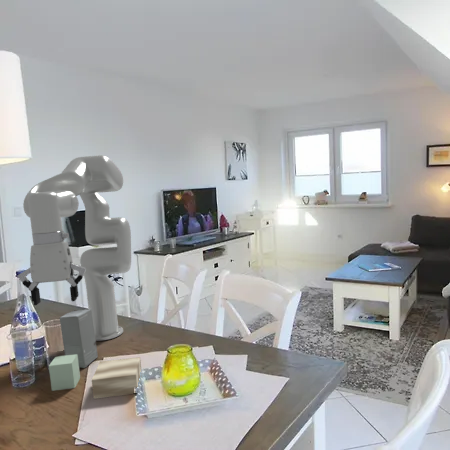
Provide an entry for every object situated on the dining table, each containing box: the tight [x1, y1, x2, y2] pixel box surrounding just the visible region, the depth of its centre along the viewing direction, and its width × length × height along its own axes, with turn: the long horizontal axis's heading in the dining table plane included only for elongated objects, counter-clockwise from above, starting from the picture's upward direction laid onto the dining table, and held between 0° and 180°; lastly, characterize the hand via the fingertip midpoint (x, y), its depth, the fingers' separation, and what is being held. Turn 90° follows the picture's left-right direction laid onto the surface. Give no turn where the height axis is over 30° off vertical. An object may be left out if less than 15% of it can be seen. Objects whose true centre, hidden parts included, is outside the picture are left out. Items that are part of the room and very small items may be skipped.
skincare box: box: [59, 308, 99, 368], centre depth 129 cm, size 8×7×16 cm
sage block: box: [48, 354, 81, 392], centre depth 116 cm, size 6×6×7 cm
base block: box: [91, 356, 142, 400], centre depth 112 cm, size 11×11×5 cm
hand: (55, 301), depth 113 cm, fingers open, 9 cm apart
